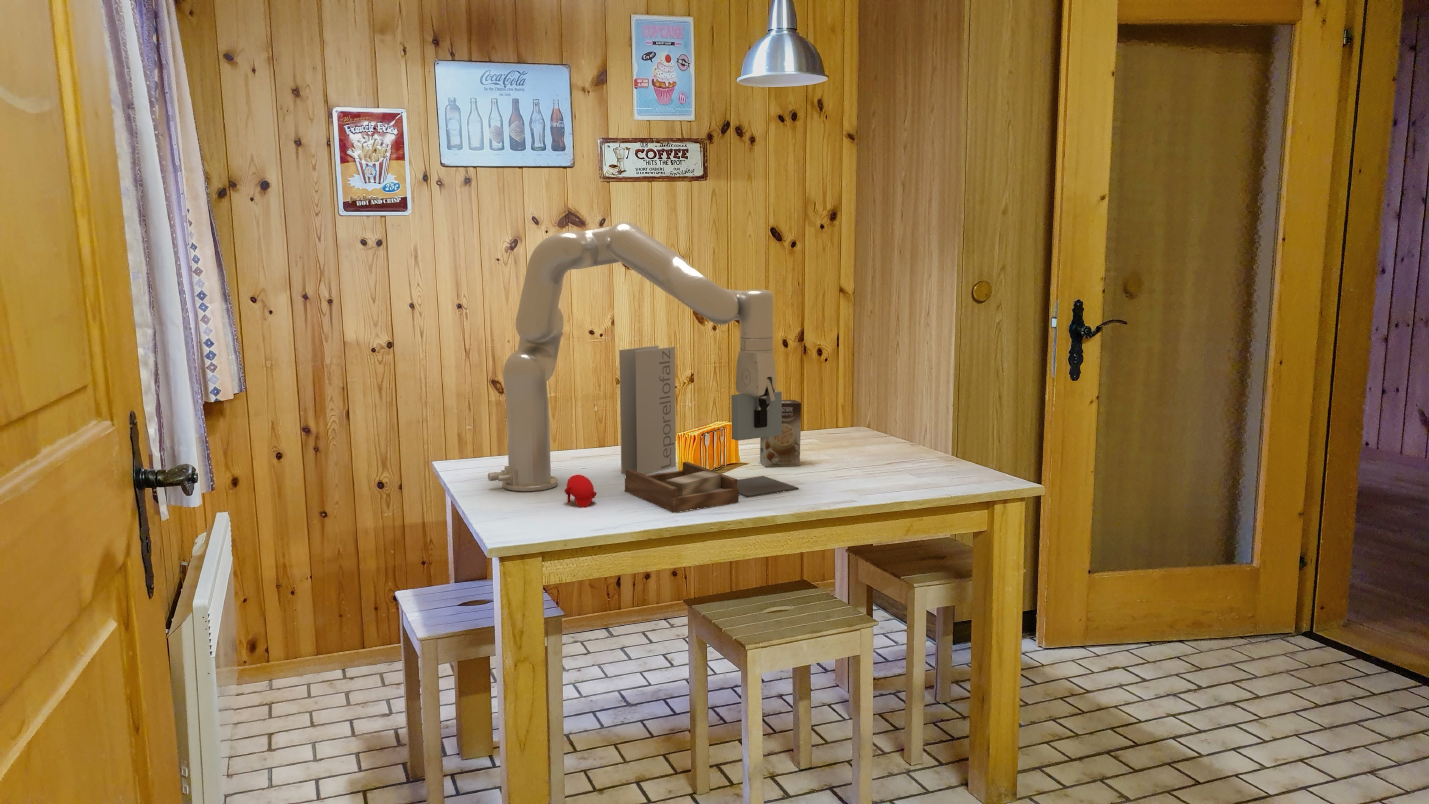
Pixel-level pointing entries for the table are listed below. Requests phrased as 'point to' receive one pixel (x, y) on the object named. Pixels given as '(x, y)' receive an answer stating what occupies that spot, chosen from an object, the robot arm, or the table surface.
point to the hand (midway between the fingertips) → (756, 425)
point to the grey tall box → (647, 409)
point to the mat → (761, 486)
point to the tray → (667, 495)
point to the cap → (580, 490)
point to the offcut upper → (696, 483)
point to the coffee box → (784, 439)
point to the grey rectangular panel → (745, 417)
